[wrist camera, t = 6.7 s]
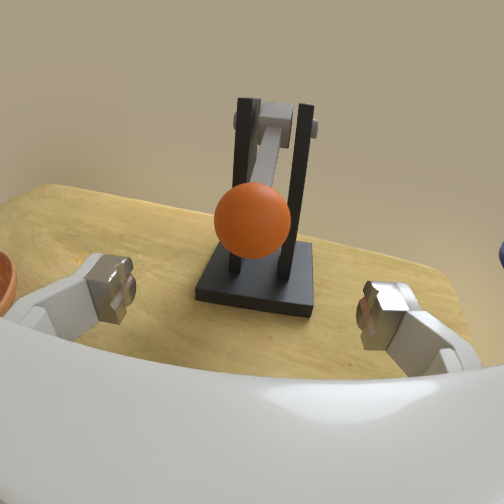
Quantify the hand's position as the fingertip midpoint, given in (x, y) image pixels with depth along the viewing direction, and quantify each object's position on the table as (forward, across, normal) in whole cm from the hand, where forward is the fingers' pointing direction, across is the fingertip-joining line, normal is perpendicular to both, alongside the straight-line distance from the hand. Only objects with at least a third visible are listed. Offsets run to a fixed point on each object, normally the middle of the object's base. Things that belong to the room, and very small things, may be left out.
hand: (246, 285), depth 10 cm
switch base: (+14, -1, +9) cm, 17 cm away
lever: (+10, 0, 0) cm, 10 cm away
